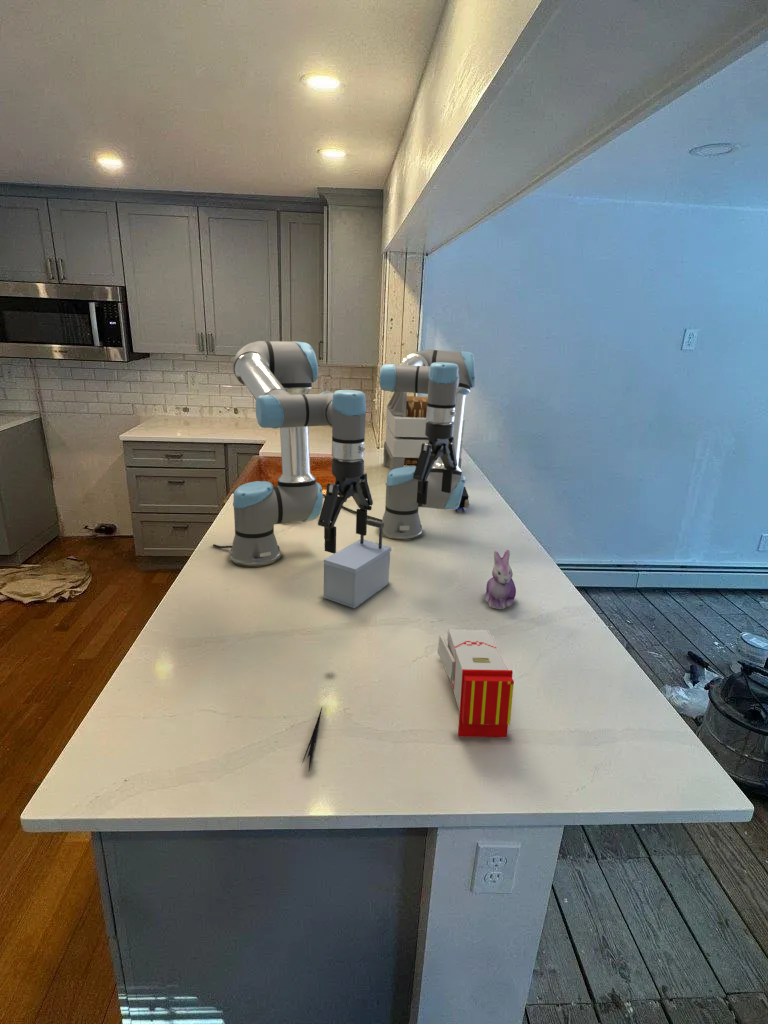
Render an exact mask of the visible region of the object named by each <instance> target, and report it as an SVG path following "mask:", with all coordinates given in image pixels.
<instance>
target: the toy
mask: <svg viewBox="0 0 768 1024" xmlns="http://www.w3.org/2000/svg"><path fill="white" fill-rule="evenodd" d="M446 640H447V643H446V641H445V639H444V636H443V635H442V634H439V637H438V646H437V656H438V657H439V659H440V661H441V663H442V666H443V668H444V670H445V672H446V674H447V677H448V679H449V681H450V684H451V687H452V690H453V693H454V697H455V701H456V705H457V708H458V711H459V714H458V715H459V716H458V730H457V731H458V732H457V737H458V738H508V731H509V726H510V725H511V717H512V707H513V697H514V696H513V695H514V684H515V680H514V679H513V673H514V671H513V670H512V669H508V667H507V665H506V662H505V661H504V659H503V658H502V655H501V653H500V651H499V649H498V647H497V643H496V639H495V637H494V635H493V634H491V632H490V631H489V629H467V628H466V629H465V628H463V629H461V628H460V629H459V628H448V630H447V639H446Z"/></svg>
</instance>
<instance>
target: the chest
mask: <svg viewBox="0 0 768 1024" xmlns="http://www.w3.org/2000/svg"><path fill="white" fill-rule="evenodd" d="M390 560H391V551H390V552H389V553H387V554H386V555H384V556H383V557H381V558H379V559H378V560H376V561H375V562H373V563H372V564H370V565H368V566H367V567H365V568H364V569H362V570H361V571H359V572H357V573H356V574H355V573H351V572H348V571H345V570H342V569H339V568H336V567H332V566H329V565H326V564H324V563H323V599H326V600H329V601H332V602H334V603H337V604H341V605H343V606H345V607H349V608H352V609H356V608H357V607H359V606H361V604H363V603H364V602H366V601H368V599H370V598H371V597H373V596H374V595H375V594H377V593H378V592H380V591H381V590H382V589H384V588H385V587H387V586H388V585H389V580H390V563H391V561H390Z"/></svg>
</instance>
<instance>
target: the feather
mask: <svg viewBox="0 0 768 1024" xmlns="http://www.w3.org/2000/svg"><path fill="white" fill-rule="evenodd" d="M329 675H330V676H331V675H332V674H331V673H330V674H329ZM322 710H323V707H321V708H320V710H319V713H318V716H317V719H316V723H315V725H314V728H313V731H312V733H311V737H310V739H309V742H308V745H307V748H306V751H305V754H304V757H303V760H302V763H301V767H302V765H303V763H304V761H305V758H308V759H309V760H308V762H307V763H308V764H307V766H308V771H310V770H311V766H312V765H311V764H312V760H313V757H315V756H314V755H315V751H316V749H315V746H317V739H318V733H319V729H320V722H321V717H322V712H323V711H322ZM313 754H314V755H313ZM306 755H307V757H306Z"/></svg>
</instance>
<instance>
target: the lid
mask: <svg viewBox="0 0 768 1024" xmlns="http://www.w3.org/2000/svg"><path fill="white" fill-rule="evenodd" d="M367 526H370V527H374V528H378V542H376V541H375V542H374V541H371V540H367V539H365V536H364V535H360V538H359V539H358V540H356V541H354V542H353V543H351V544H349V545H346V546H345V547H343V548H342V549H340V550H339V551H336V553H332V554H331V555H329V556H328V557H326V558H324V559H323V565H324V564H326V565H329V566H332V567H336V568H339V569H342V570H345V571H348V572H351V573H355V574H356V573H357V572H359V571H361V570H362V569H364V568H365V567H367V566H368V565H370V564H372V563H373V562H375V561H376V560H378V559H379V558H381V557H383V556H384V555H386V554H387V553H389V552H390V553H391V552H392V546H389V545H385V544H383V535H382V532H383V527H384V523H383V522H380V521H376V520H373V519H370V518H367Z"/></svg>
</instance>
